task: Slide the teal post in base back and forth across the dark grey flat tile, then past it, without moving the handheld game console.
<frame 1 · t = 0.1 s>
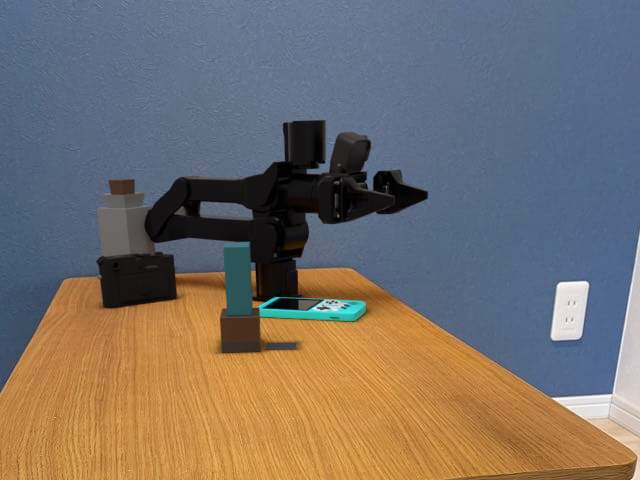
hand: (411, 197, 121), 17 cm above the table, tool horizontal, fingers open, 9 cm apart
handheld game console: (312, 313, 132), on the table
teal post in base: (241, 346, 114), on the table
camera: (136, 302, 144), on the table
perfume bottle: (132, 286, 158), on the table
dark grey flat tile: (281, 346, 113), on the table
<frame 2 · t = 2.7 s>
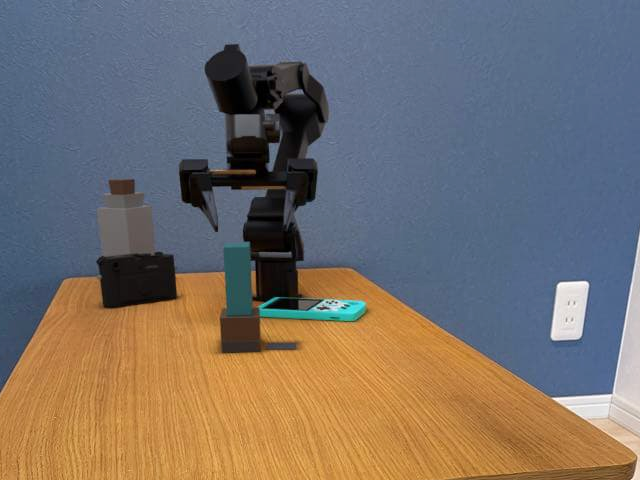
hand: (251, 229, 114), 14 cm above the table, tool tilted 50°, fingers open, 9 cm apart
nothing on the table moved.
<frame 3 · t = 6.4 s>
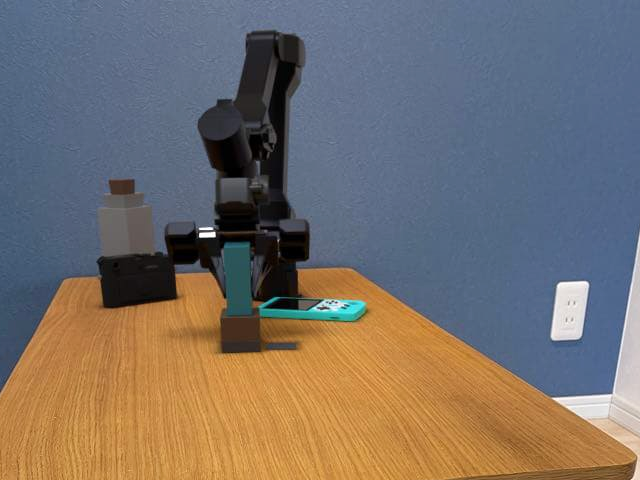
hand: (238, 296, 109), 7 cm above the table, tool tilted 45°, fingers closed on teal post in base, 3 cm apart
teal post in base: (241, 346, 114), on the table, touching gripper
everything else where it was.
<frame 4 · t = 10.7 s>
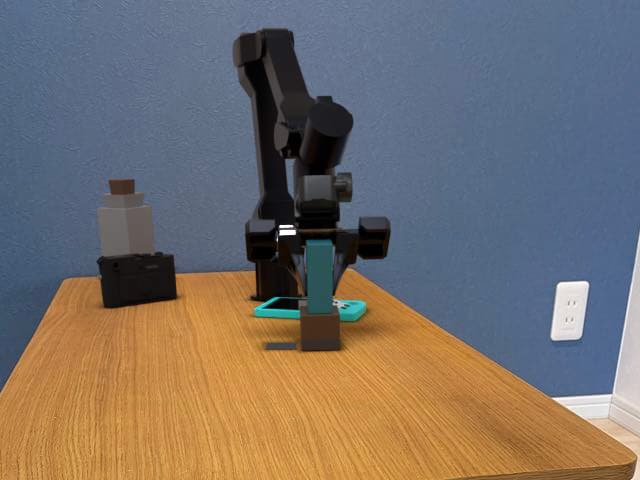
hand: (319, 294, 109), 7 cm above the table, tool tilted 45°, fingers closed on teal post in base, 3 cm apart
teal post in base: (319, 344, 113), on the table, touching gripper
everything else where it was.
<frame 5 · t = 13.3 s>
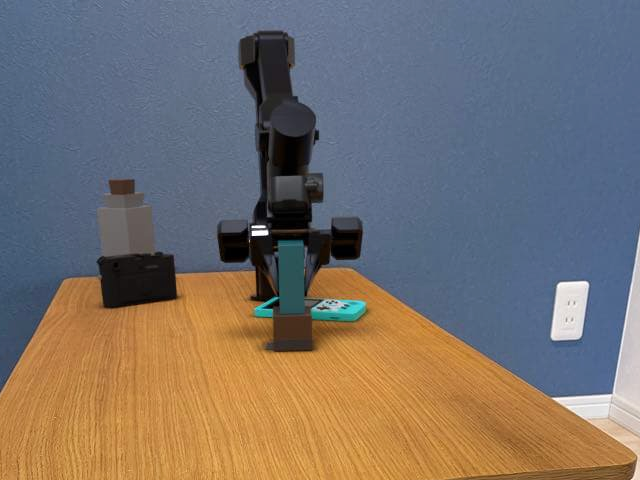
hand: (291, 294, 109), 7 cm above the table, tool tilted 45°, fingers closed on teal post in base, 3 cm apart
teal post in base: (292, 345, 113), on the table, touching gripper
everything else where it was.
when the fingers open (7 cm above the table, at t = 14.9 s): teal post in base stays where it is, on the table.
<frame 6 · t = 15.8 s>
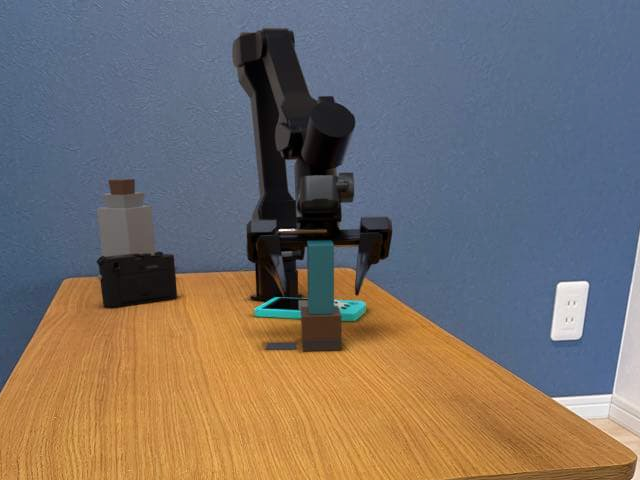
hand: (321, 294, 109), 7 cm above the table, tool tilted 45°, fingers open, 9 cm apart
teal post in base: (320, 345, 113), on the table
everything else where it was.
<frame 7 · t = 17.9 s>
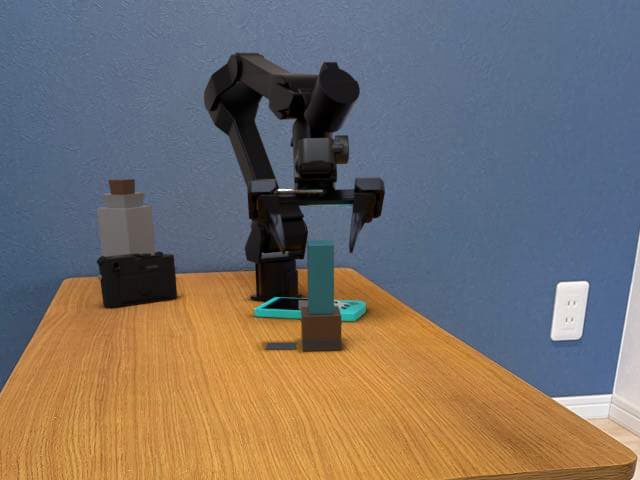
hand: (317, 252, 116), 11 cm above the table, tool tilted 40°, fingers open, 9 cm apart
nothing on the table moved.
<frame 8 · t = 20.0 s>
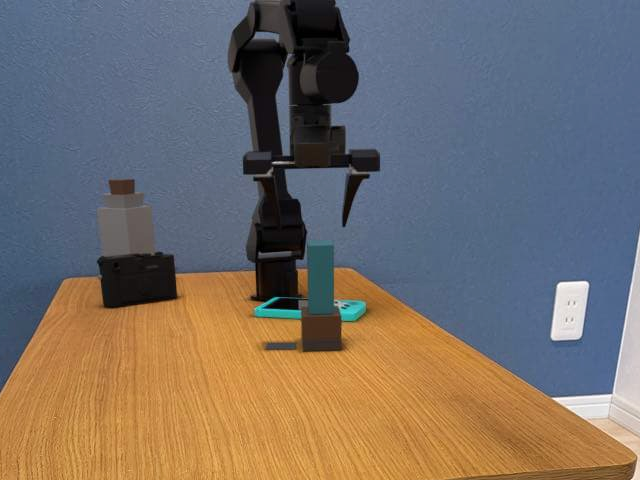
hand: (311, 227, 122), 13 cm above the table, tool pointing down, fingers open, 9 cm apart
nothing on the table moved.
at the end: teal post in base 0.3 cm from the target spot, on the table; teal post in base tilted 0°; handheld game console moved 0.2 cm from its start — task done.
